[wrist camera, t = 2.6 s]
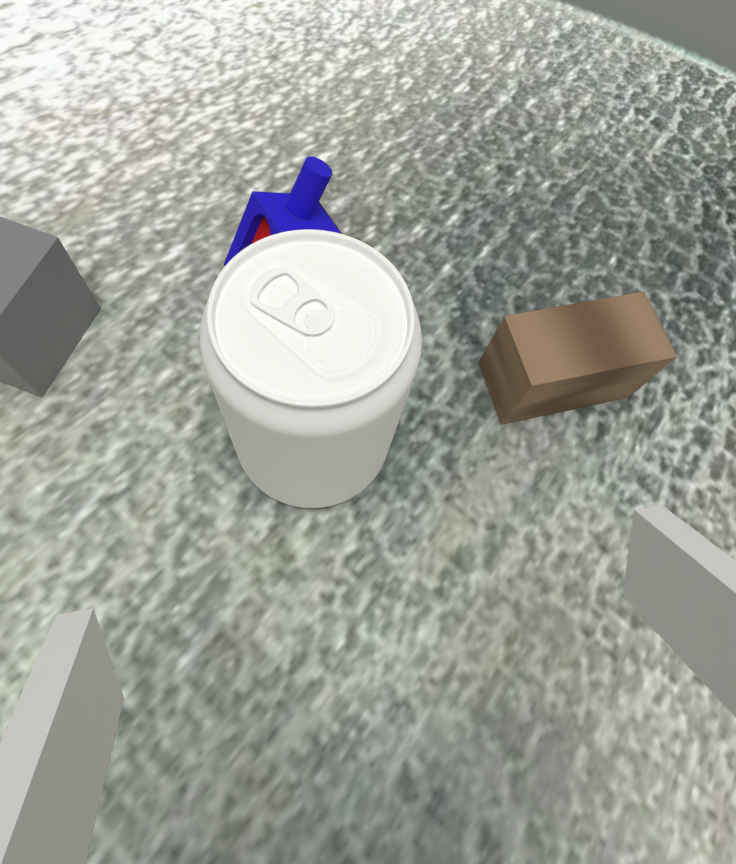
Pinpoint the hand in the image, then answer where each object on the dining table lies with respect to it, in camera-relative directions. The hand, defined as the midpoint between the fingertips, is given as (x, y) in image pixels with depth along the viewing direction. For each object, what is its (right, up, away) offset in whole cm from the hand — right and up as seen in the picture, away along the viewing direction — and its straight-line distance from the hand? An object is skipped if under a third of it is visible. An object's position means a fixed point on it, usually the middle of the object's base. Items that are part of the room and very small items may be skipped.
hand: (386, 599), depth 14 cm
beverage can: (-3, +4, +17) cm, 18 cm away
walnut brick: (+10, +7, +20) cm, 23 cm away
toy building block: (-5, +14, +21) cm, 26 cm away
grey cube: (-19, +10, +18) cm, 28 cm away
